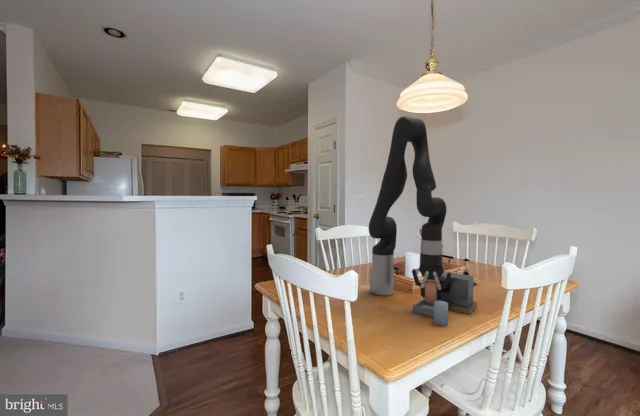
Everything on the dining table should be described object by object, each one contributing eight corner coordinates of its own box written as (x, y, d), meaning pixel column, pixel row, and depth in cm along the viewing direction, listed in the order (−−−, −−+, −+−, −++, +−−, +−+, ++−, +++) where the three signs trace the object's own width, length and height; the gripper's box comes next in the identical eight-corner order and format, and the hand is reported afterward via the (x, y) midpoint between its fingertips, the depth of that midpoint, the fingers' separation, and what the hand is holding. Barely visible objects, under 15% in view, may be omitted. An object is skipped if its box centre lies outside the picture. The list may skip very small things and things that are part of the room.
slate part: (431, 323, 103) (432, 303, 103) (436, 319, 106) (436, 299, 106) (445, 327, 100) (445, 306, 100) (449, 322, 103) (449, 302, 103)
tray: (412, 311, 113) (412, 305, 113) (422, 304, 120) (422, 298, 120) (438, 318, 107) (438, 311, 107) (447, 310, 114) (447, 304, 114)
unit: (425, 304, 121) (426, 274, 120) (434, 297, 128) (435, 269, 128) (469, 314, 110) (470, 281, 110) (476, 306, 118) (477, 276, 117)
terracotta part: (422, 300, 113) (422, 281, 112) (427, 297, 116) (427, 279, 116) (434, 303, 110) (434, 283, 110) (438, 300, 113) (439, 281, 113)
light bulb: (477, 257, 152) (455, 255, 155) (479, 261, 142) (455, 259, 146) (476, 281, 152) (454, 279, 156) (478, 287, 143) (454, 284, 147)
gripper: (410, 252, 112) (409, 299, 112) (452, 255, 106) (452, 304, 107) (412, 249, 119) (411, 293, 119) (452, 251, 113) (451, 297, 114)
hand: (430, 298), depth 113 cm, fingers closed on terracotta part, 4 cm apart
